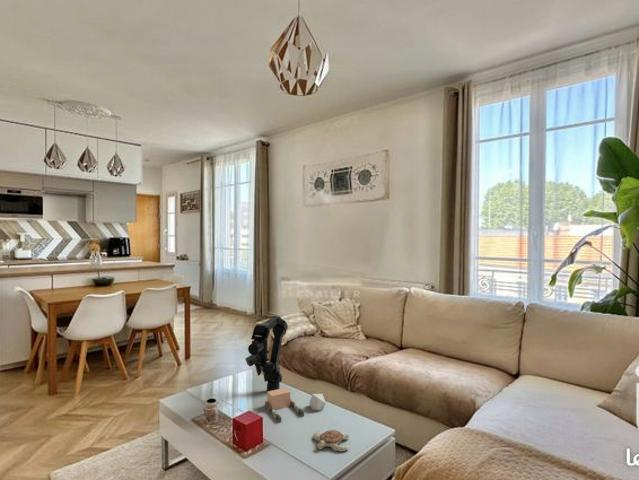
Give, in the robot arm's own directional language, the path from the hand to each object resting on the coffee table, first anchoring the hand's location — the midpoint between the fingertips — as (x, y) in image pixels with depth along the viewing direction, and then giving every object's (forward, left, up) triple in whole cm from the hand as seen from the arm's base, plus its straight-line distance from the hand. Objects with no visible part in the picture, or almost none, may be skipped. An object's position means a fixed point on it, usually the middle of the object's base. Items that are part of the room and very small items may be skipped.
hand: (262, 378), depth 193 cm
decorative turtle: (+3, +50, -14) cm, 52 cm away
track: (0, +17, -13) cm, 21 cm away
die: (-14, +26, -13) cm, 33 cm away
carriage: (-2, +11, -12) cm, 16 cm away
